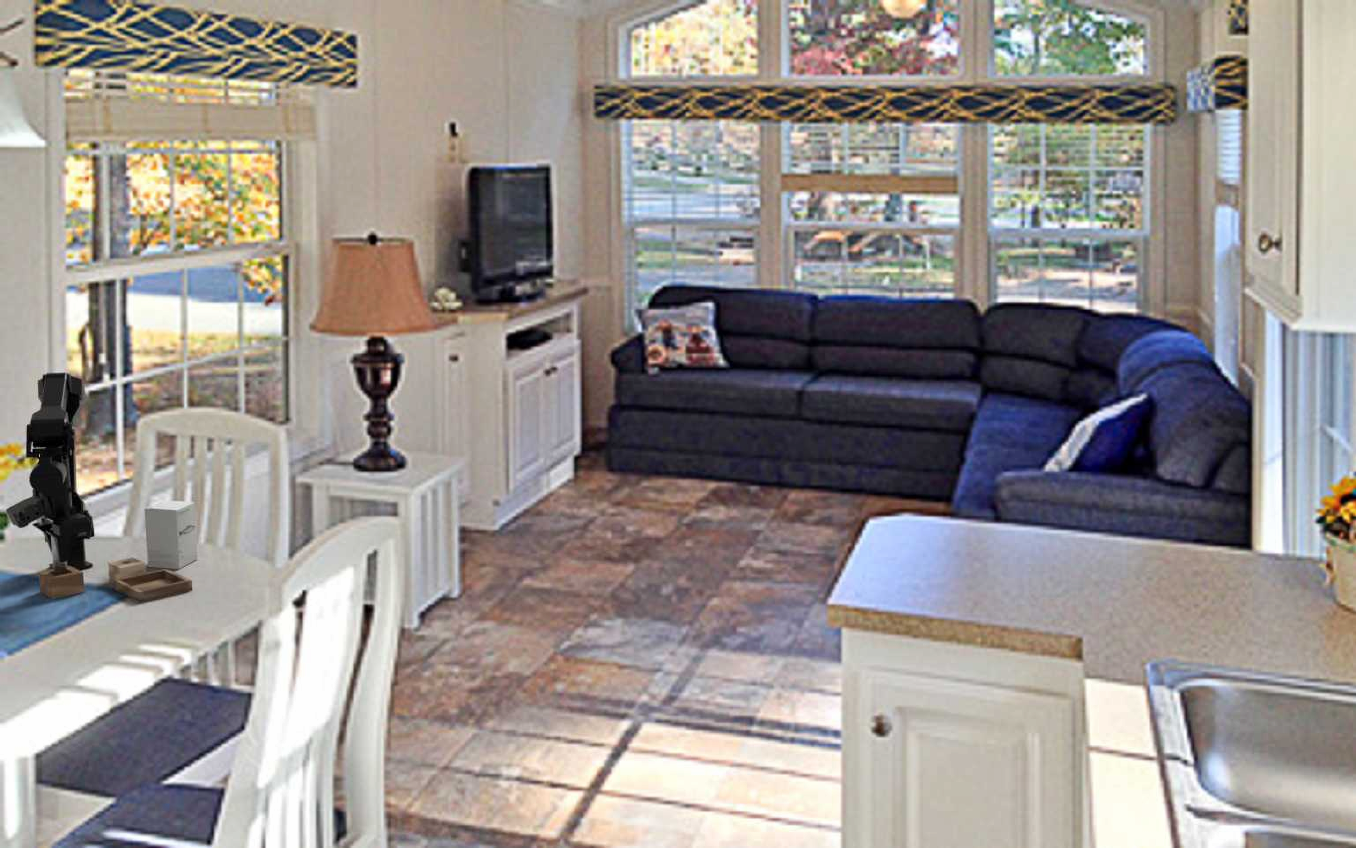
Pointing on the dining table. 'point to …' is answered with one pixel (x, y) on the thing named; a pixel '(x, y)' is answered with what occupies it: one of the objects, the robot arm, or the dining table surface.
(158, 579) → the tray
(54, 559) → the cylinder
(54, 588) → the brown square socket
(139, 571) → the maple block
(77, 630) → the dining table surface
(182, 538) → the supplement box
